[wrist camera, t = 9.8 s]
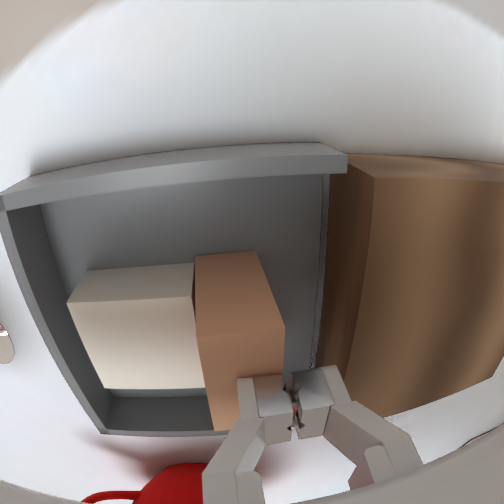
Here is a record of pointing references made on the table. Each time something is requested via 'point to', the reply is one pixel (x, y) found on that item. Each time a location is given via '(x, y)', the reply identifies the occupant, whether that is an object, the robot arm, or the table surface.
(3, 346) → the wineglass
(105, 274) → the tile
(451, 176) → the walnut block
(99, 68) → the table surface
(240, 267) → the tile
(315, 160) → the tray
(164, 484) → the ceramic cup
